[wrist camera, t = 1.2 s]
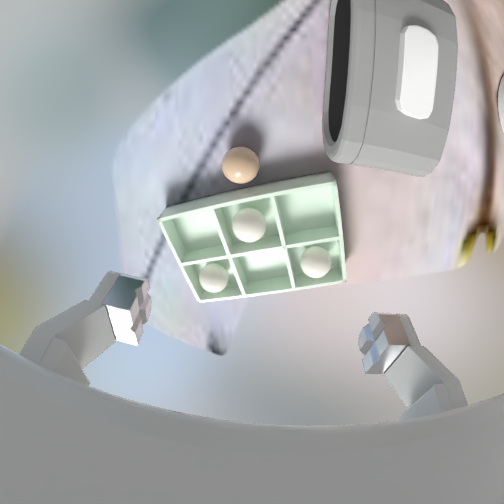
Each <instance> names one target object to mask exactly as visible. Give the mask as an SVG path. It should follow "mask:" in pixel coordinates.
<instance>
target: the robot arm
mask: <svg viewBox="0 0 504 504" xmlns="http://www.w3.org/2000/svg"><path fill="white" fill-rule="evenodd" d="M498 111H499V118H500V123H501V126H502V130H503V132H504V75H503V77H502V79H501V82H500V86H499V92H498ZM149 288H150V286H149V280H147V279H144V278H140V277H136V276H131V275H127V274H123V273H122V274H121V273H117V272H113V271H109V272H107V273H106V275H105V276H104V278H103V279H102V281H101V282H100V284H99V285H98V287H97V288H96V290H95V291H94V293H93V295H92V296H91V298H90V299H89V301H87V300H84V301H82V302H80V303H79V304H77V305H75V306H73V307H71V308H70V309H68V310H66V311H64V312H62V313H60V314H59V315H57V316H55V317H53V318H51V319H50V320H48V321H46V322H44V323H42V324H41V325H39V326H37V327H36V328H35V329H34V330H33V332H32V334H31V335H30V337H29V339H28V340H27V342H26V344H25V345H24V347H23V349H22V351H21V352H20V354H17V353H15V352H13V351H11V350H10V349H8V348H7V347H5V346H3V345H1V344H0V504H504V394H501V395H498V396H496V397H493V398H490V399H487V400H484V401H481V402H478V403H474V404H471V405H468V404H467V401H466V398H465V395H464V392H463V389H462V386H461V384H460V381H459V380H458V379H457V378H456V377H455V376H454V375H453V374H452V373H451V372H450V371H449V370H448V369H447V368H446V367H445V366H444V365H443V364H442V363H441V362H440V361H439V360H438V359H437V358H436V357H435V356H434V355H433V354H432V353H431V352H430V351H429V350H428V349H427V348H425V347H424V346H421V344H420V342H419V340H418V337H417V335H416V332H415V330H414V328H413V326H412V323H411V321H410V318H409V317H408V316H407V315H406V314H390V313H378V312H374V313H373V314H371V316H370V317H369V319H368V320H369V324H367V325H366V326H364V327H363V329H362V330H361V332H360V335H359V349H360V351H361V352H362V353H363V354H364V357H363V359H362V362H363V365H364V370H365V374H384V377H385V378H386V379H387V381H388V382H389V383H390V385H391V386H392V387H393V389H394V390H395V392H396V393H397V394H398V396H399V397H400V398H401V399H402V401H403V402H404V404H405V405H406V406H407V409H406V410H405V411H404V412H402V413H401V414H400V415H399V420H394V421H387V422H378V423H369V424H355V425H340V426H339V425H338V426H288V425H269V424H268V425H267V424H256V423H245V422H236V421H229V420H220V419H214V418H208V417H202V416H196V415H191V414H185V413H181V412H176V411H171V410H167V409H163V408H159V407H154V406H151V405H147V404H143V403H139V402H136V401H132V400H129V399H125V398H122V397H119V396H116V395H113V394H110V393H107V392H104V391H101V390H98V389H95V388H93V387H90V386H89V384H90V382H89V379H88V378H87V376H86V375H85V373H84V372H83V370H82V369H83V368H84V367H85V366H87V365H88V364H89V363H90V362H92V361H93V360H94V359H95V358H97V357H98V356H99V355H100V354H101V353H103V352H104V351H105V350H107V349H108V348H109V347H110V346H111V345H113V344H114V343H115V342H116V340H117V341H121V342H125V343H129V344H133V345H138V343H139V341H140V338H141V336H142V333H143V327H142V325H143V324H145V323H146V322H147V321H148V318H149V316H150V311H151V297H150V295H149V294H148V291H149Z"/></svg>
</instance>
